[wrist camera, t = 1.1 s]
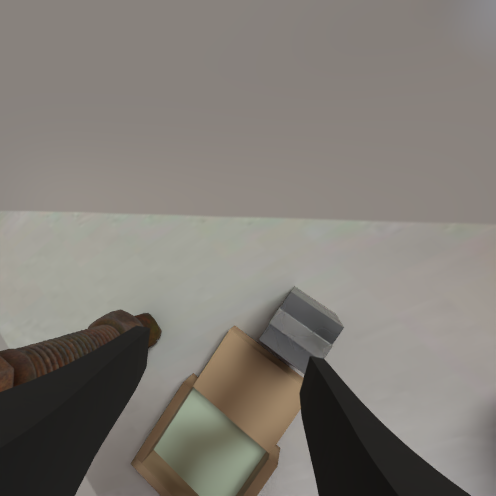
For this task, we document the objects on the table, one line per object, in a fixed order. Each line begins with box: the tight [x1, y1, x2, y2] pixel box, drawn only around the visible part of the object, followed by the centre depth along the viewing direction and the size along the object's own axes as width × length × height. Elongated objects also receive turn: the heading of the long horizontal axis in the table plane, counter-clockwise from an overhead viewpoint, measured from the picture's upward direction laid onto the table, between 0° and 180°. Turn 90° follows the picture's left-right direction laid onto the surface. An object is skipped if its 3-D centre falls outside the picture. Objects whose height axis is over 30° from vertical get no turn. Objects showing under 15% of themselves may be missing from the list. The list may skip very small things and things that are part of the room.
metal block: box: [259, 287, 344, 374], centre depth 19 cm, size 4×4×5 cm
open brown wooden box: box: [131, 326, 303, 496], centre depth 21 cm, size 10×15×2 cm, turn 146°
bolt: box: [0, 310, 162, 392], centre depth 17 cm, size 6×5×15 cm
